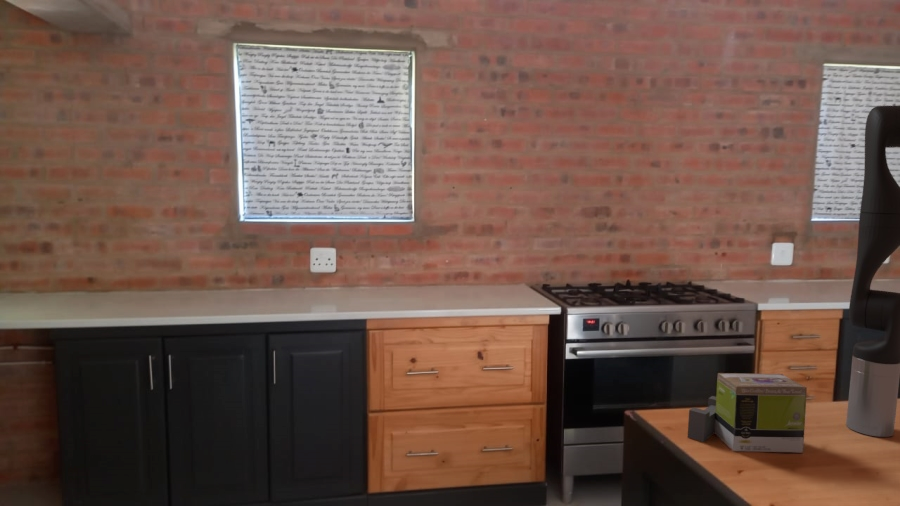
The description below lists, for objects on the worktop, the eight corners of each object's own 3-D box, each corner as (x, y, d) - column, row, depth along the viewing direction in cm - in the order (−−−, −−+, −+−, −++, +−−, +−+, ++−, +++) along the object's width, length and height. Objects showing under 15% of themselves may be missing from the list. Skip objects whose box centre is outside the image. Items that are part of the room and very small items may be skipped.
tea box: (778, 435, 135) (783, 372, 134) (803, 454, 125) (809, 387, 124) (712, 433, 135) (717, 370, 134) (732, 452, 125) (737, 385, 124)
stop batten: (710, 421, 142) (712, 395, 142) (726, 425, 140) (727, 399, 139) (687, 437, 133) (689, 409, 132) (703, 442, 130) (705, 414, 130)
